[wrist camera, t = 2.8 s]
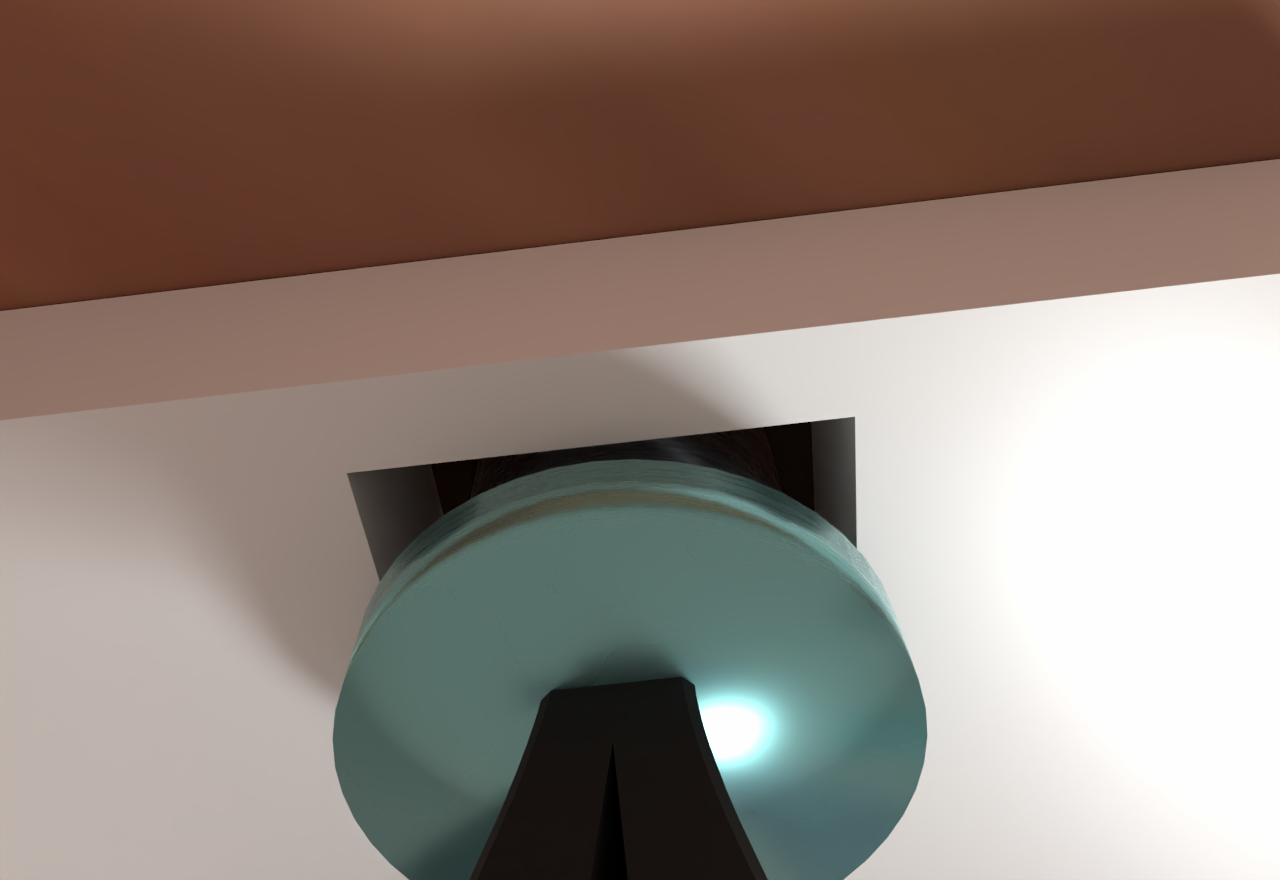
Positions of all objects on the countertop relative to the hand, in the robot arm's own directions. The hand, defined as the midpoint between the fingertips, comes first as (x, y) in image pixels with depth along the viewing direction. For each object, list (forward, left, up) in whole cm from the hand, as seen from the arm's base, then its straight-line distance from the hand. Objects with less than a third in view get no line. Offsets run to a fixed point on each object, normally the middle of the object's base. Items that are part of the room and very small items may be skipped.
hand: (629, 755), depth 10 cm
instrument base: (-6, 0, -5) cm, 7 cm away
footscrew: (0, 0, -5) cm, 5 cm away
